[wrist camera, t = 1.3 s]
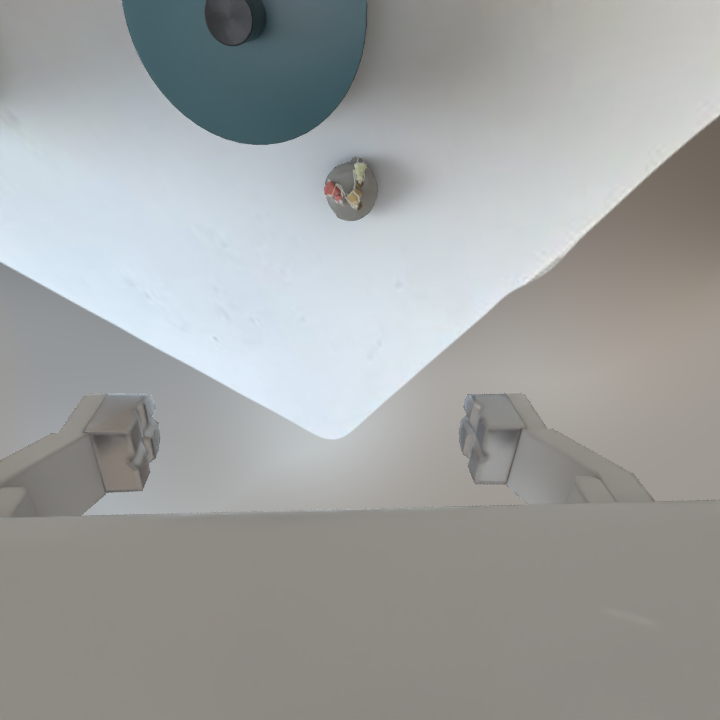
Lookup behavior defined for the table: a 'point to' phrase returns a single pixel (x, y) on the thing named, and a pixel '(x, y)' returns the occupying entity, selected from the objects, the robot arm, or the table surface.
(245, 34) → the pot lid
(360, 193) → the figurine
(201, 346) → the table surface
